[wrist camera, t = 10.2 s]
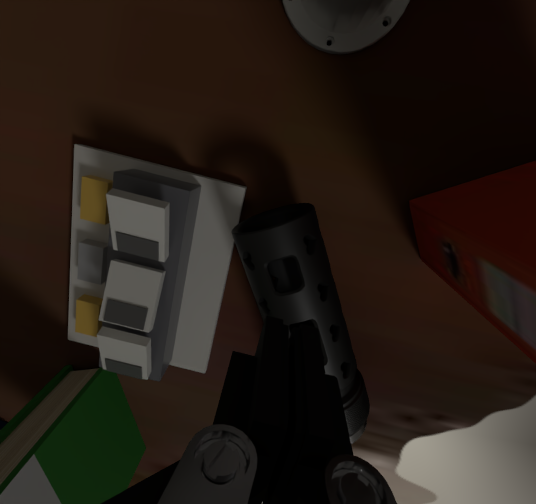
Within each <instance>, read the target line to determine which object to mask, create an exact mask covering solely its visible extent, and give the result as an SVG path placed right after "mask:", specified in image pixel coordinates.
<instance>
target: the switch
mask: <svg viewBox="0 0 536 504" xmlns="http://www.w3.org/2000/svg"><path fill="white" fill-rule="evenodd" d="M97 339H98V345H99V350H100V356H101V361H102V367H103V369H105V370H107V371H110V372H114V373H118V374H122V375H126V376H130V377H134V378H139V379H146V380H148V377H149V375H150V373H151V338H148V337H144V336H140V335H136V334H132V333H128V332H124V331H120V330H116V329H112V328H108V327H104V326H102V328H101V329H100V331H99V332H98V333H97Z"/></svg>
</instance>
